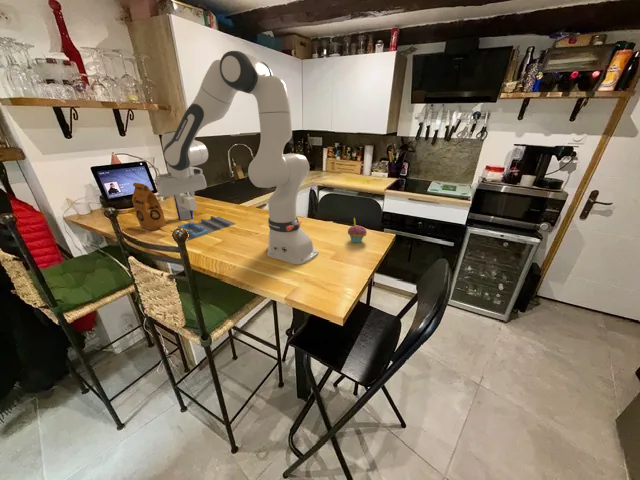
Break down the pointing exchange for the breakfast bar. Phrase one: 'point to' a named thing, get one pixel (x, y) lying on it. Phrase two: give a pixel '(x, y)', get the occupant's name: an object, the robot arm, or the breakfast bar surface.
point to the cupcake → (356, 233)
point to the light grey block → (188, 202)
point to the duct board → (205, 226)
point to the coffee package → (147, 208)
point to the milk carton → (183, 210)
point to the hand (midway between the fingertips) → (186, 202)
